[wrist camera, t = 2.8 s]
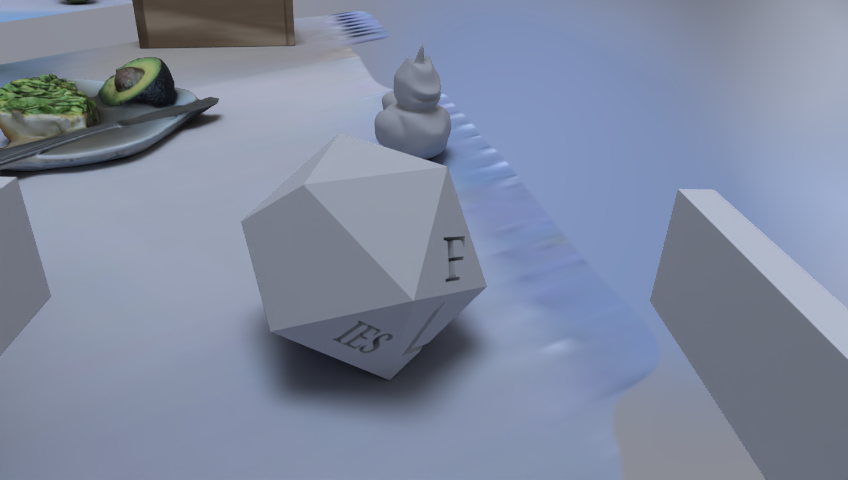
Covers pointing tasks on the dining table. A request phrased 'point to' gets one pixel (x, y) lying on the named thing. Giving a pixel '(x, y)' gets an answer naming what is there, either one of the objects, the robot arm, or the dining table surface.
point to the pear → (77, 1)
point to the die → (363, 255)
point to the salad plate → (92, 116)
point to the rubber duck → (414, 111)
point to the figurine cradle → (214, 23)
